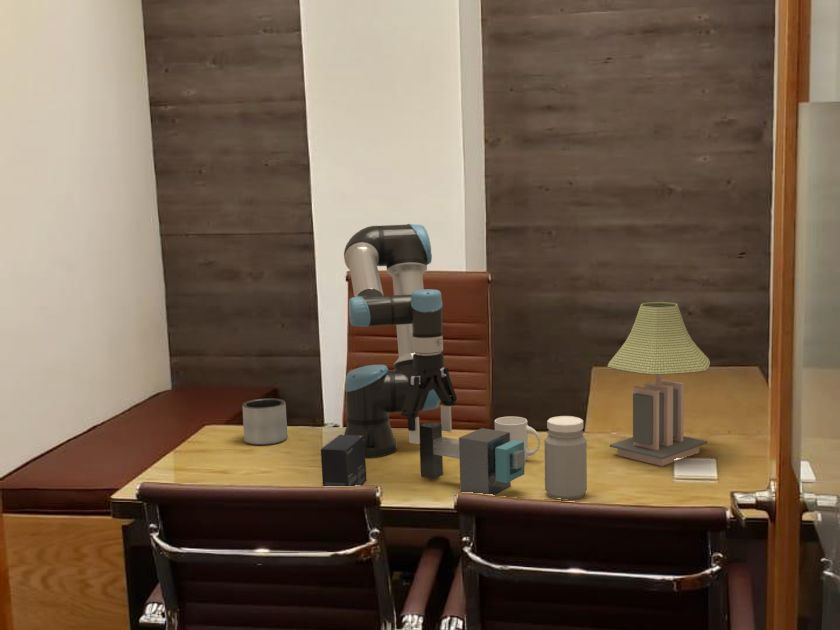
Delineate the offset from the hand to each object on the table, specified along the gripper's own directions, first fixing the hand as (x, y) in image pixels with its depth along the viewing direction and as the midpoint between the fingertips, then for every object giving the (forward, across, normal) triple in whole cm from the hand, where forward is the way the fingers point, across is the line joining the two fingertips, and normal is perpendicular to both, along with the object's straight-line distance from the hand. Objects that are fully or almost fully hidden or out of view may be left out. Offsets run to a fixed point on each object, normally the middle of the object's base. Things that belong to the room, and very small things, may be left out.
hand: (430, 437), depth 255 cm
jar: (+12, +7, -34) cm, 36 cm away
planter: (+10, +5, +63) cm, 64 cm away
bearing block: (+11, 0, -16) cm, 19 cm away
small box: (+11, -17, +14) cm, 25 cm away
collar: (+3, 0, -23) cm, 23 cm away
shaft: (+10, 0, -12) cm, 15 cm away
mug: (+11, +25, -10) cm, 29 cm away
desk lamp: (+11, +49, -39) cm, 64 cm away
